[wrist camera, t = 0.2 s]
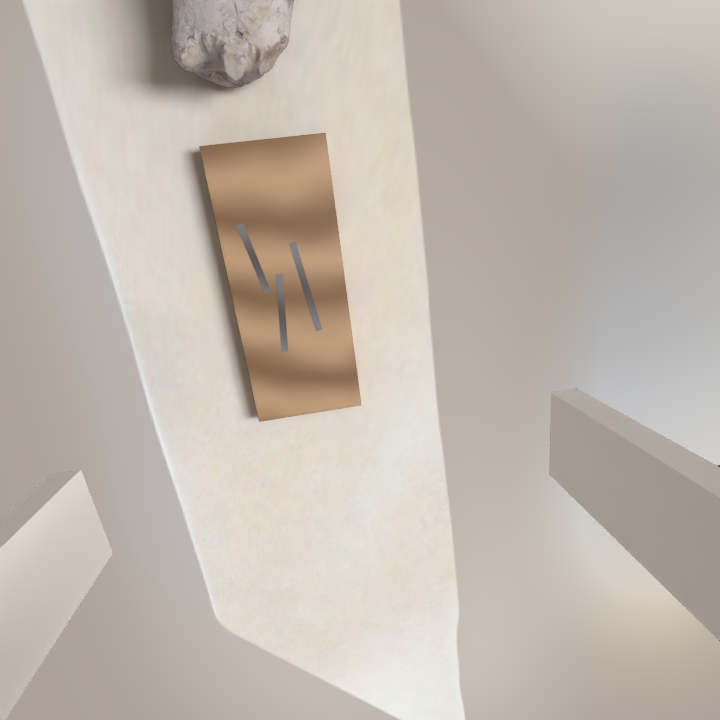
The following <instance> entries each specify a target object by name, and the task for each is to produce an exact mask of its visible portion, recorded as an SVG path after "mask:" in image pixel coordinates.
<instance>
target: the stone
mask: <svg viewBox="0 0 720 720" xmlns="http://www.w3.org/2000/svg"><path fill="white" fill-rule="evenodd" d="M172 1H173V24H172V32H171V43H172V53H173V58H174V59H175V60H176V62H177V63H178V64H179V65H180V66H181V68H182V69H183V70H184V71H189V72H194V73H195V74H196V75H197V76H198V77H200V78H203V79H205V80H209V81H212V82H213V83H215V84H218V85H221V86H226V87H230V88H235V87H241V86H243V85H245V84H248V83H251V82H252V81H254V80H256V79H258V78H260V77H262V76H263V75H264V74H265V73H267V72H268V71H269V70H270V69H271V68H272V67H273V65H274V63H275V61H276V59H277V58H278V56H279V55H280V54H281V53H282V52H283V50H284V49H285V48H286V47H287V44H288V41H289V35H290V23H291V16H292V8H293V1H294V0H172Z"/></svg>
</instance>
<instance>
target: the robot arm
mask: <svg viewBox="0 0 720 720" xmlns="http://www.w3.org/2000/svg"><path fill="white" fill-rule="evenodd" d="M549 474H550V475H551V477H553V478H554V479H555V480H556V481H557V482H558V483H559V484H560V485H561V486H562V487H563V488H564V489H565V490H566V491H567V492H568V493H569V494H570V495H571V496H572V497H573V498H574V499H575V500H576V501H577V502H578V503H579V504H580V505H581V506H582V507H583V508H584V509H585V510H586V511H587V512H588V513H589V514H590V515H591V516H592V517H593V518H595V520H597V521H598V522H599V523H600V524H601V525H602V526H603V527H604V528H605V529H606V530H607V531H608V532H609V533H610V534H611V535H612V536H613V537H614V538H615V539H616V540H617V541H618V542H619V543H620V544H621V545H622V546H623V547H624V548H625V549H626V550H627V551H628V552H629V553H631V555H632V556H633V557H634V558H635V559H636V560H638V562H639V563H641V564H642V565H643V566H644V567H645V568H646V569H647V570H648V571H649V572H650V573H651V574H652V575H653V576H654V577H655V578H656V579H657V580H658V581H659V582H660V583H661V584H662V585H663V586H664V587H665V588H666V589H667V590H668V591H669V592H670V593H671V594H672V595H673V596H674V597H675V598H676V599H677V600H678V601H679V602H680V603H682V605H683V606H684V607H686V608H687V609H688V610H689V611H690V612H691V613H692V614H693V615H694V616H695V617H696V618H697V619H698V620H699V621H700V622H701V623H702V624H703V625H704V626H705V627H706V628H707V629H708V630H709V631H710V632H711V633H712V634H713V635H714V636H715V637H716V638H717V639H718V640H719V641H720V465H718V466H716V465H715V464H713V463H711V462H709V461H707V460H706V459H704V458H702V457H700V456H698V455H696V454H695V453H693V452H691V451H689V450H687V449H685V448H684V447H682V446H680V445H678V444H677V443H675V442H673V441H671V440H669V439H667V438H666V437H664V436H662V435H660V434H658V433H657V432H655V431H653V430H651V429H649V428H647V427H646V426H644V425H642V424H640V423H638V422H636V421H635V420H633V419H631V418H629V417H627V416H626V415H624V414H622V413H620V412H618V411H617V410H615V409H613V408H611V407H609V406H608V405H606V404H604V403H602V402H600V401H598V400H597V399H595V398H593V397H591V396H589V395H588V394H586V393H584V392H582V391H580V390H579V389H577V388H574V389H569V390H562V391H556V392H551V424H550V467H549ZM111 555H112V550H111V548H110V545H109V543H108V540H107V537H106V535H105V532H104V529H103V527H102V524H101V522H100V519H99V516H98V514H97V511H96V508H95V506H94V503H93V500H92V498H91V495H90V493H89V490H88V487H87V485H86V482H85V479H84V477H83V474H82V472H81V470H75V471H70V472H63V473H57V474H51V475H49V476H48V477H47V478H46V479H45V480H44V481H43V482H42V483H40V484H39V485H38V486H37V487H36V488H35V489H34V490H32V491H31V492H30V493H29V494H28V495H27V496H26V497H25V498H24V499H22V500H21V501H20V502H19V503H18V504H17V505H16V506H14V508H12V509H11V510H10V511H9V512H8V513H6V515H4V516H3V517H2V518H1V519H0V720H5V719H6V718H7V716H8V715H9V713H10V711H11V710H12V708H13V707H14V705H15V704H16V702H17V701H18V699H19V698H20V696H21V694H22V693H23V691H24V690H25V688H26V687H27V685H28V684H29V682H30V680H31V679H32V677H33V676H34V674H35V673H36V671H37V670H38V668H39V666H40V665H41V663H42V662H43V660H44V659H45V657H46V655H47V654H48V653H49V651H50V649H51V648H52V646H53V645H54V643H55V642H56V640H57V638H58V637H59V635H60V634H61V632H62V631H63V629H64V628H65V626H66V625H67V623H68V622H69V620H70V618H71V617H72V615H73V614H74V612H75V611H76V609H77V608H78V606H79V604H80V603H81V601H82V600H83V598H84V597H85V595H86V594H87V592H88V590H89V589H90V587H91V586H92V584H93V583H94V581H95V580H96V578H97V577H98V574H99V573H100V572H101V570H102V569H103V567H104V565H105V564H106V563H107V561H108V559H109V558H110V556H111Z"/></svg>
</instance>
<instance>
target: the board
mask: <svg viewBox="0 0 720 720" xmlns="http://www.w3.org/2000/svg"><path fill="white" fill-rule="evenodd" d="M199 147H200V152H201V156H202V161H203V166H204V170H205V175H206V179H207V184H208V188H209V193H210V198H211V202H212V207H213V211H214V216H215V221H216V225H217V230H218V234H219V239H220V244H221V248H222V253H223V257H224V262H225V267H226V271H227V276H228V280H229V285H230V290H231V294H232V299H233V303H234V308H235V313H236V317H237V322H238V326H239V331H240V336H241V340H242V345H243V349H244V354H245V359H246V363H247V368H248V372H249V377H250V381H251V386H252V391H253V395H254V400H255V404H256V409H257V414H258V418H259V422H260V421H267V420H273V419H279V418H285V417H292V416H298V415H304V414H310V413H317V412H323V411H329V410H335V409H342V408H348V407H354V406H360V405H361V399H360V391H359V383H358V376H357V368H356V361H355V353H354V345H353V338H352V330H351V323H350V315H349V307H348V300H347V292H346V285H345V277H344V270H343V262H342V254H341V247H340V239H339V232H338V224H337V216H336V209H335V201H334V194H333V186H332V179H331V171H330V163H329V156H328V148H327V141H326V133H320V134H310V135H301V136H292V137H282V138H273V139H264V140H255V141H245V142H236V143H227V144H217V145H208V146H199Z"/></svg>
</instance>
